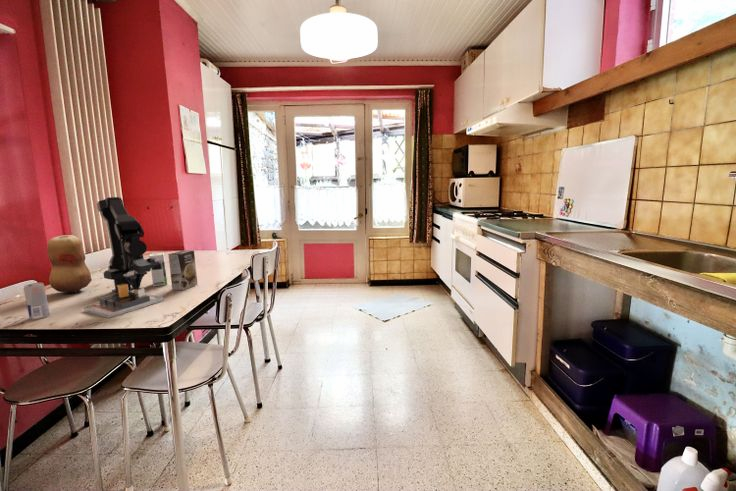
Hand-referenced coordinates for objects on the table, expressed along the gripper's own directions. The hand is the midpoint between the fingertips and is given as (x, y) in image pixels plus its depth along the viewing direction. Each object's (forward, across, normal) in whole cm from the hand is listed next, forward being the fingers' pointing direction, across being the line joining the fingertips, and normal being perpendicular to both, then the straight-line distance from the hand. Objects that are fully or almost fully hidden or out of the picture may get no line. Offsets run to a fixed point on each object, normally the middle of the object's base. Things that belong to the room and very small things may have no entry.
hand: (136, 290), depth 138 cm
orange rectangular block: (+1, -5, 0) cm, 5 cm away
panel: (+4, -5, 0) cm, 7 cm away
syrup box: (+5, +19, +16) cm, 25 cm away
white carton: (+5, -25, +16) cm, 30 cm away
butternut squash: (+5, -5, +40) cm, 41 cm away
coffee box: (+5, +21, +1) cm, 22 cm away
